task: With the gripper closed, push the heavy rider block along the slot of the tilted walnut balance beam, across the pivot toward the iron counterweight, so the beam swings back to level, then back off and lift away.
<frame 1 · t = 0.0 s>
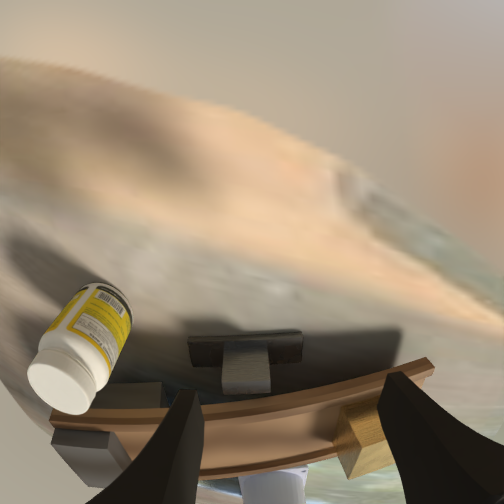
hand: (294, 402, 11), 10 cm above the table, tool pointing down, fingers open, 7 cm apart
stand: (249, 397, 24), on the table
beam: (249, 432, 21), point 4 cm above the table, hinge at 8.1°, touching rider
rider: (365, 417, 21), point 4 cm above the table, tilted 8°, touching beam
supplement bottle: (106, 308, 21), on the table
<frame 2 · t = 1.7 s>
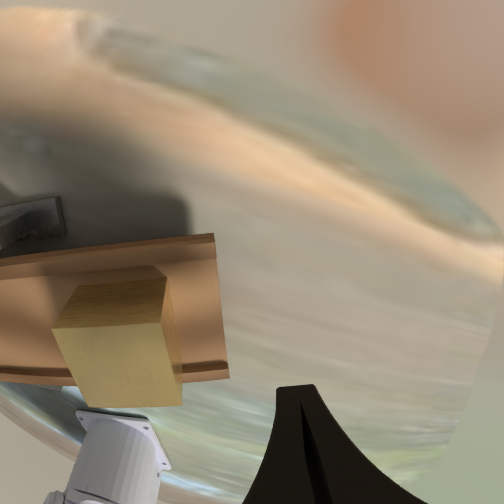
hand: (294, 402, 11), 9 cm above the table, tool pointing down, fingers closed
stand: (39, 291, 19), on the table
beam: (13, 318, 16), point 4 cm above the table, hinge at 8.1°, touching rider
rider: (130, 322, 16), point 4 cm above the table, tilted 8°, touching beam
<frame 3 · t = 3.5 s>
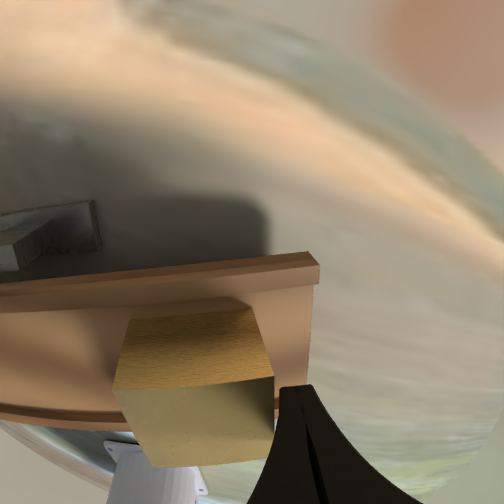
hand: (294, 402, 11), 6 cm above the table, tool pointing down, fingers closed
stand: (63, 316, 16), on the table
beam: (35, 352, 13), point 4 cm above the table, hinge at 8.1°, touching rider
rider: (198, 360, 13), point 4 cm above the table, tilted 8°, touching beam, gripper
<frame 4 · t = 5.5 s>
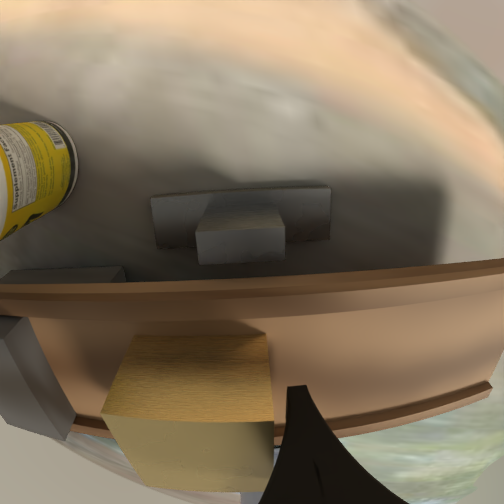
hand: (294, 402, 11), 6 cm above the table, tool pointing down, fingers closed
stand: (247, 316, 17), on the table
beam: (249, 362, 13), point 4 cm above the table, hinge at -0.3°
rider: (206, 382, 12), point 5 cm above the table, touching gripper
supplement bottle: (46, 165, 13), on the table
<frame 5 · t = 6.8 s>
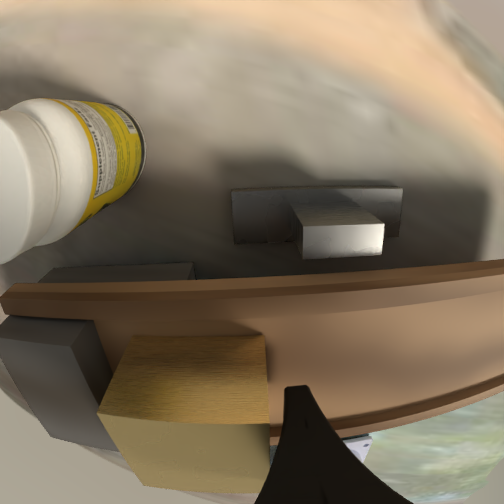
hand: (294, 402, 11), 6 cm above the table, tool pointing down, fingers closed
stand: (315, 312, 17), on the table
beam: (330, 356, 13), point 4 cm above the table, hinge at -0.2°, touching rider
rider: (204, 383, 12), point 5 cm above the table, touching beam, gripper
supplement bottle: (104, 152, 13), on the table
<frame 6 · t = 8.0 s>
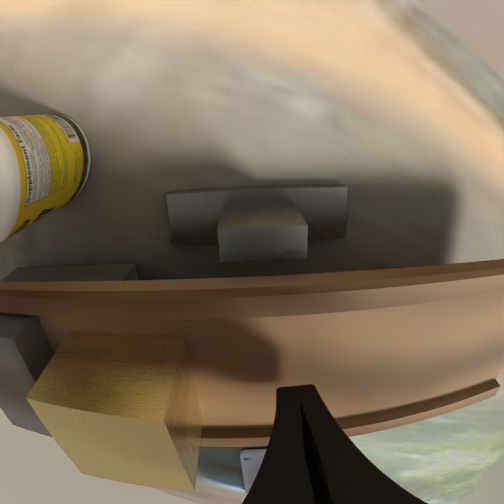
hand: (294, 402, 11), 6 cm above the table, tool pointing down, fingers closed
stand: (261, 314, 16), on the table
beam: (265, 361, 13), point 4 cm above the table, hinge at -0.2°, touching rider
rider: (137, 380, 12), point 5 cm above the table, touching beam
supplement bottle: (56, 159, 13), on the table
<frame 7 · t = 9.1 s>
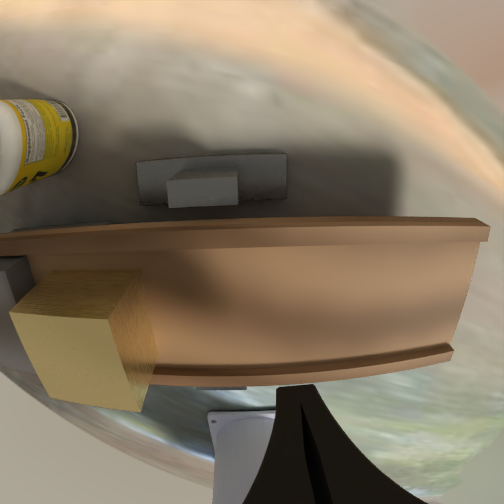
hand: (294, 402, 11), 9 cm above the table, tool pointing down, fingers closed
stand: (217, 269, 19), on the table
beam: (211, 302, 15), point 4 cm above the table, hinge at -0.2°, touching rider
rider: (103, 314, 14), point 5 cm above the table, touching beam
supplement bottle: (51, 137, 16), on the table
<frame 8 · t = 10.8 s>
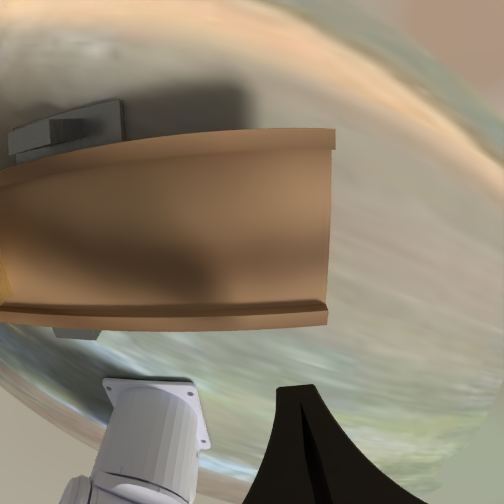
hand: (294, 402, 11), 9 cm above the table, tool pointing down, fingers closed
stand: (77, 219, 17), on the table
beam: (47, 240, 14), point 4 cm above the table, hinge at -0.2°, touching rider
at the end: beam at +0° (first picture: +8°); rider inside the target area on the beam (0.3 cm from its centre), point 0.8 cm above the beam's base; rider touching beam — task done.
